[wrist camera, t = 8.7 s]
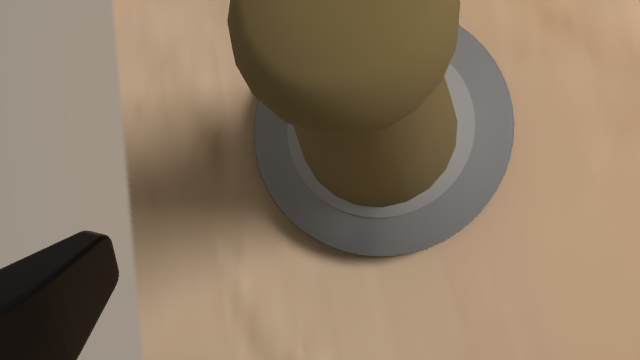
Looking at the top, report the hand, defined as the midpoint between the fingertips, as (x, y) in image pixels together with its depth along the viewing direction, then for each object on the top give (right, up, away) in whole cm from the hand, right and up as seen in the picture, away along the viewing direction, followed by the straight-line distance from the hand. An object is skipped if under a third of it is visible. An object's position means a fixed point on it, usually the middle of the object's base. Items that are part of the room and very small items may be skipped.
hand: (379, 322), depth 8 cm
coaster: (+2, +4, +15) cm, 15 cm away
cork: (+1, +4, +14) cm, 14 cm away
